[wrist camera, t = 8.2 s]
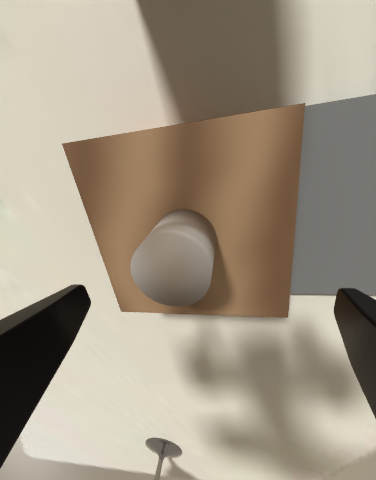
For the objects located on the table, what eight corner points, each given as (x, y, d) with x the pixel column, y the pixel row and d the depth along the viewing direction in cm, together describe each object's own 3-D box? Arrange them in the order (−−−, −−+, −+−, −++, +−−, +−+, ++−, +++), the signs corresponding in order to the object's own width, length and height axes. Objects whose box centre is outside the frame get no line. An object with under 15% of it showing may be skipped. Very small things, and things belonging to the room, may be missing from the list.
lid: (300, 105, 10) (345, 88, 6) (285, 309, 16) (304, 373, 12) (71, 143, 13) (-4, 149, 9) (125, 304, 19) (94, 354, 15)
